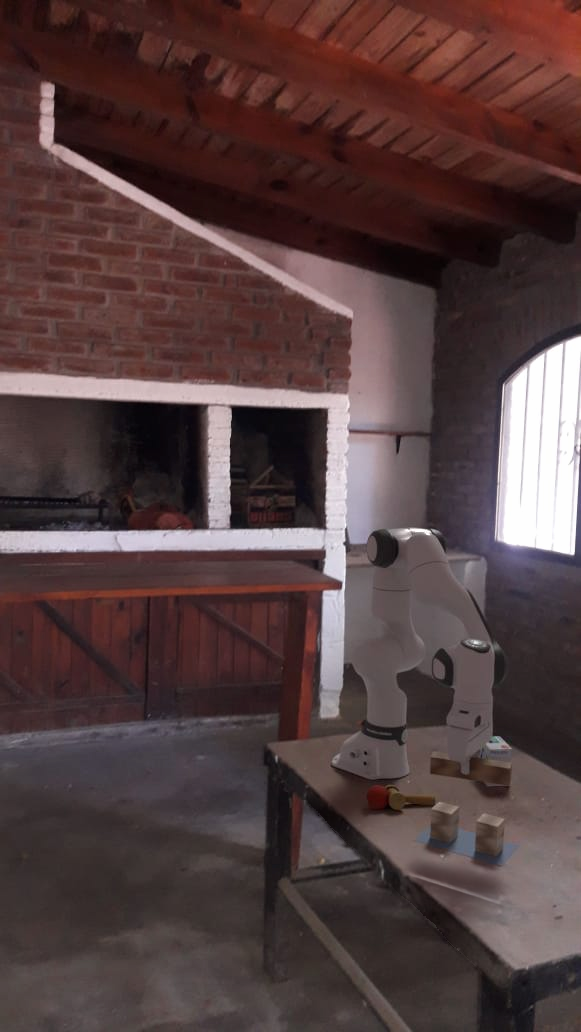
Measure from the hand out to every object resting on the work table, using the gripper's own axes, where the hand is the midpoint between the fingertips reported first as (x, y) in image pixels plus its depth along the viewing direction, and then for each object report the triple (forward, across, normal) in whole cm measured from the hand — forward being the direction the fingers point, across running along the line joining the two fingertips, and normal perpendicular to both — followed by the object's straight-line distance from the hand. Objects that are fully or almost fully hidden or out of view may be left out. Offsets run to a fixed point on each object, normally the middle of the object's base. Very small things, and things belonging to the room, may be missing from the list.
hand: (470, 769), depth 193 cm
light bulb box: (+18, -43, -8) cm, 48 cm away
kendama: (+18, -10, -22) cm, 30 cm away
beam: (+2, 0, 0) cm, 2 cm away
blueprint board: (+18, 0, 0) cm, 18 cm away
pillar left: (+18, 0, -6) cm, 19 cm away
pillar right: (+18, 0, +5) cm, 18 cm away
